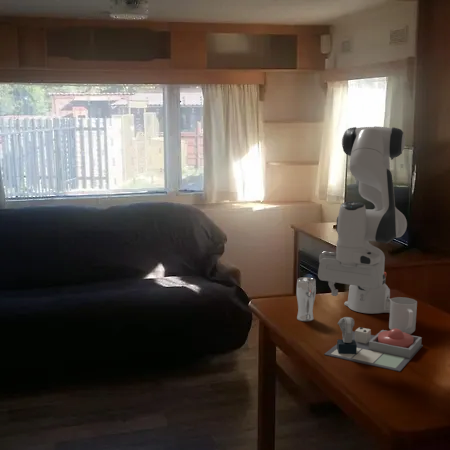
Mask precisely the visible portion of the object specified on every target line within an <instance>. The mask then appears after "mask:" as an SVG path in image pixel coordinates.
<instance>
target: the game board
mask: <svg viewBox="0 0 450 450" xmlns="http://www.w3.org/2000/svg"><path fill="white" fill-rule="evenodd" d="M371 330H372V329H370V328H365V327H362V326H361V327H360V326H359V327H358V328H356V329H355V330H354V331H353V330H352V334H353V337H352V340H355V342H356V344H357V350H356V354H339V353H338V350H337V343H336V344H335V345H334V346H332V347H331V348H330V349H329V350H328V351H326V352H325V353H324V356H327V357H332V358H337V359H341V360H345V361H349V362H354V363H355V362H356V363H359V364H364V365H367V366H373V367H375V368H376V367H377V368H381V369H385V370H391V371H394V372H395V371H396V372H399V373H400V372H401V371H402V370H403V369H404V368H405V367H406V366H407V365H408V363H409V362H410V361H411V360H412V359H414V357H415V355H416V354H417V353H418V352H419V351H420V350H421V348H422V347H423V346H424V345H423V344H422V340H423V339H422V338H423V337H421V336H417V335H412V334H410V335H411V336H413V338H414V339H413V344H412V345H411V346H410V347H409V348H403V347H398V346H393V345H389V344H384V343H379V342H378V334H379V333H380V332H383V331H387V330H386V329H385V330H384V329H382V330H380V331H379V332H378V333H376V334H375V335H374V334H372V331H371Z"/></svg>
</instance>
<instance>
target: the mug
mask: <svg viewBox="0 0 450 450" xmlns="http://www.w3.org/2000/svg"><path fill="white" fill-rule="evenodd" d="M390 299H391V300H390V313H389V319H388V320H389V321H388V328H389V331H390V330H391V329H394V328H397V329H400V330H401V331H402V332H404V333H408V334H410V335H412V334H413V333H414V332H415V331H416V323H417V310H418V309H417V307H418V301H417V300H416V299H414V298H409V297H404V296H403V297H401V296H396V297H392V298H390Z"/></svg>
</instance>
